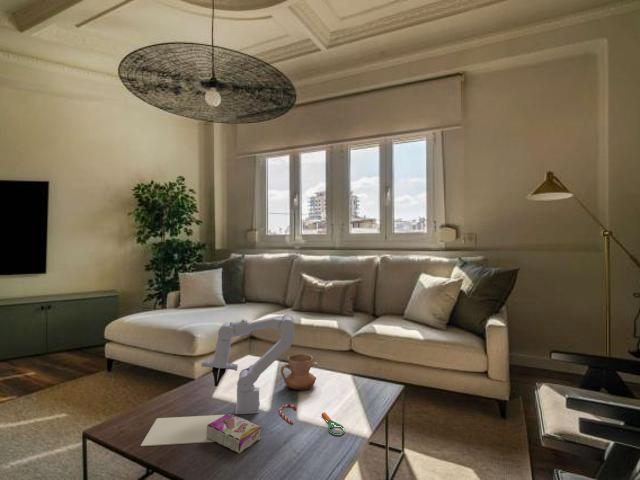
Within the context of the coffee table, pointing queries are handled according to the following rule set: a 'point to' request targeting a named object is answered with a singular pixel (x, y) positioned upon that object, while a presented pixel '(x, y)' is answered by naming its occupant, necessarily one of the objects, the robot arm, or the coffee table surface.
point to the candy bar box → (234, 432)
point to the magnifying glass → (331, 422)
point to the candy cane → (284, 415)
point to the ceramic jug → (299, 372)
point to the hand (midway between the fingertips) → (216, 385)
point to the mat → (179, 430)
